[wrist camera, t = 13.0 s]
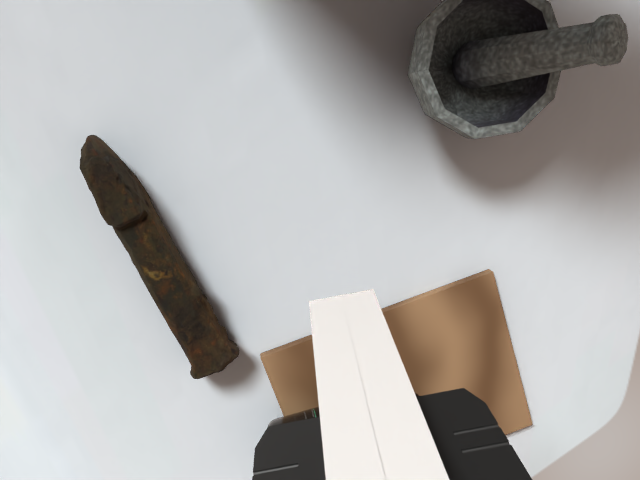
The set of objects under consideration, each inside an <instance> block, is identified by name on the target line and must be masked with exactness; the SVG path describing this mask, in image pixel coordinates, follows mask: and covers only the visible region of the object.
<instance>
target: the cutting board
mask: <svg viewBox="0 0 640 480" xmlns="http://www.w3.org/2000/svg"><path fill="white" fill-rule="evenodd" d="M381 310H382V313H383V315H384V318H385V320H386V323H387V325H388V328H389V330H390V333H391V335H392V338H393V340H394V343H395V345H396V348H397V350H398V353H399V355H400V358H401V360H402V363H403V365H404V368H405V370H406V373H407V375H408V378H409V380H410V383H411V385H412V388H413V390H414V393H416V394H418V395H419V396H423V395H428V394H433V393H439V392H444V391H449V390H455V389H460V388H465V389H466V390H468V391H469V392H471V393H472V394H474V395H475V396H476V397H478V398H479V399H481V400H482V401H484V402H485V403H486V404H487V406H488V408H489V409H490V411H491V413H492V414H493V416H494V417H495V419H496V421H497V422H498V426H499V427H501V429H502V431H503V432H504V434H505V435H507V434H509V433H512V432H514V431H517V430H520V429H522V428H525V427H527V426H530V425H532V420H531V417H530V413H529V409H528V405H527V401H526V397H525V393H524V389H523V386H522V382H521V378H520V374H519V370H518V366H517V362H516V359H515V355H514V351H513V347H512V343H511V339H510V335H509V332H508V328H507V324H506V320H505V316H504V312H503V308H502V304H501V301H500V297H499V293H498V289H497V285H496V281H495V277H494V274H493V272H492V271H491V270H489V269H488V270H485V271H483V272H480V273H477V274H474V275H472V276H469V277H466V278H464V279H461V280H458V281H455V282H453V283H450V284H447V285H445V286H442V287H439V288H437V289H434V290H431V291H428V292H426V293H423V294H420V295H418V296H415V297H412V298H409V299H407V300H404V301H401V302H399V303H396V304H393V305H391V306H388V307H385V308H382V309H381ZM260 356H261V360H262V363H263V365H264V368H265V370H266V373H267V375H268V378H269V380H270V383H271V385H272V388H273V390H274V393H275V395H276V398H277V400H278V403H279V405H280V408H281V410H282V413H283V415H284V416H287V415H290V414H294V413H297V412H301V411H304V410H308V409H312V408H315V407H319V402H318V392H317V381H316V371H315V360H314V350H313V339H312V335H309V336H307V337H304V338H301V339H299V340H296V341H293V342H290V343H288V344H285V345H282V346H280V347H277V348H274V349H272V350H269V351H266V352H263V353H261V354H260Z"/></svg>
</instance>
